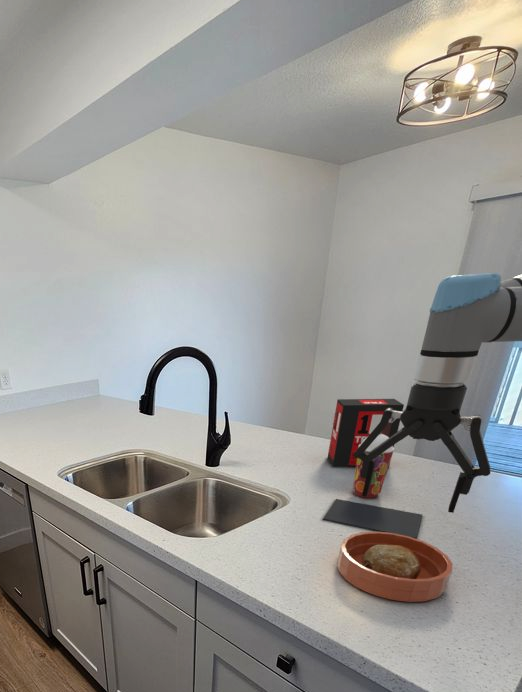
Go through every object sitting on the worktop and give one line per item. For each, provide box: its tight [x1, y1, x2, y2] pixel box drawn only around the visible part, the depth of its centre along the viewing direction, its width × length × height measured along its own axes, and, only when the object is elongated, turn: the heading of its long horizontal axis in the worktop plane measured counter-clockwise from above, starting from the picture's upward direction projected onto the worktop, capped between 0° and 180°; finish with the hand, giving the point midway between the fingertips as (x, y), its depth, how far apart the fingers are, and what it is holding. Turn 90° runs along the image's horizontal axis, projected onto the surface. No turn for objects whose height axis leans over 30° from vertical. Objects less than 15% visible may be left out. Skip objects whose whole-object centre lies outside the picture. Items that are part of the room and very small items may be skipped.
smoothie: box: [352, 433, 395, 499], centre depth 117 cm, size 8×8×20 cm
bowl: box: [336, 531, 454, 603], centre depth 86 cm, size 19×19×5 cm
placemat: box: [322, 498, 423, 539], centre depth 109 cm, size 20×14×1 cm
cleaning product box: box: [327, 398, 405, 469], centre depth 140 cm, size 16×9×20 cm, turn 77°
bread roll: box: [362, 545, 421, 579], centre depth 86 cm, size 10×10×8 cm
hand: (406, 501), depth 80 cm, fingers open, 13 cm apart
